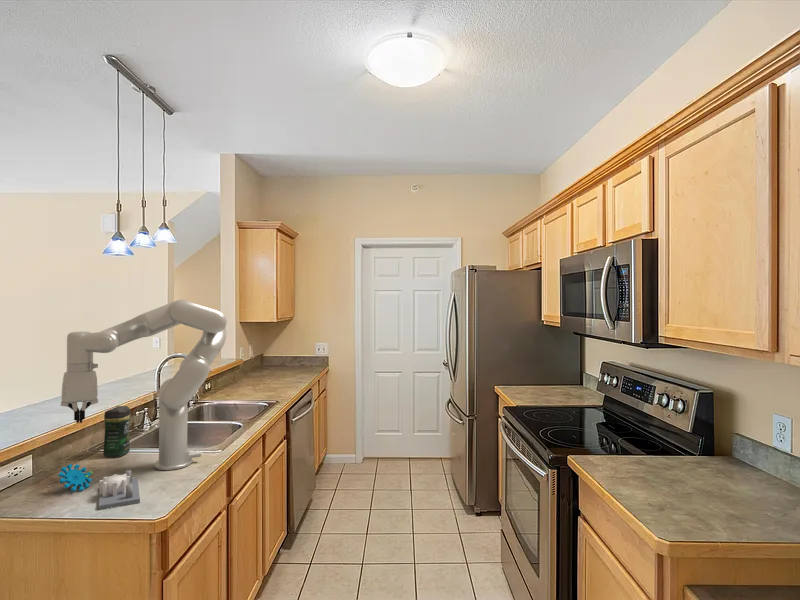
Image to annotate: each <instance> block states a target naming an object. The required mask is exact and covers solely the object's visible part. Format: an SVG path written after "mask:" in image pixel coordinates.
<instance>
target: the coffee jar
mask: <svg viewBox="0 0 800 600" xmlns="http://www.w3.org/2000/svg"><path fill="white" fill-rule="evenodd" d="M103 419H104V420H103V421H104V439H103V440H104V442H103V457H106V458H110V459H115V458H116V457H123V456H125V455H126V454H128V453H129V452H130V451H131V450H130V449H131V448H130V446H131V445H130V444H131V441H130V421H131V408H130V407H128V406H127V405H117V406H115V407H113V408H110V409H107V410H105V412H104V416H103Z"/></svg>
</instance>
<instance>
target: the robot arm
mask: <svg viewBox="0 0 800 600" xmlns="http://www.w3.org/2000/svg"><path fill="white" fill-rule="evenodd" d="M227 322H228V321H227V318H226V315H225V314H224V313H223V312H221V311H219V310H217V309H213V308H211V307H207V306H204V305H201V304H198V303H195V302H192V301H190V300H187V299H176V300H175V301H174V300H173V301H172V302H169V303H165V304H164V305H162V306H159V307H157V308H154V309H151V310H149V311H146V312H143V313H140V314H139V315H137V316H134V317H133V318H131V319H128V320H126V321H124V322H121V323H118V324H116V325H113V326H111V327H108V328H106V329H104V330H101V331H97V332H91V331H72V332H69V333H68V334H67V337H66V372H64V373H63V378H62V384H61V385H62V386H61V402H60V406H61V407H67V408H70V409H71V410H72V411H73V412H74V413H73V420H74V421H76V422H75V423H76V424H78V423H81V424H82V423H83V420H85V419H86V410H87V409H88V408H89V407H90V406H92V405H95V404H98V403H99V399H98V378H97V377H98V376H97V372H96V370H94V369H96V368H99V364H98V363H95V362H94V353H97V354H98V353H99V354H109V353H112V352H113V351H115V350H116V349H117V348H118V347H121V346H123V345H126V344H129V343H130V342H133V341H135V340H139V339H142V338H143V339H144V338H149V337H152V336H155V335H157V334H159V333H162V332H165V331H167V330H169V329H171V328H174V327H177V326H179V325H184V326H187V327H190V328H193V329H197V330H200V331H202V335H201V337H200V339H199V340H198V342H197V343H196V345H194V347H193V348H192V349H191V350H190V352H189V353H188V354H187V355H186V356H185V358H183V360H182V361H181V362H180V365H179V369H178V370H177V372H176V373H175V374H174V376H173V377H172V378H169V379H167V380H165V381H163V382H162V384H161V385H160V386H159V390H158V409H159V410H158V411H159V413H158V417H159V418H158V460H156V461H155V462H154V463H153V467H154V469H156V470H158V471H159V470H160V471H173V470H179V469H183V468H186V467H188V466H189V465H192V461H193V460H192V458H200V457H201V458H202V452H201V451H197V450H193V451H189V449H188V420H189V416H188V415H189V414H188V411H189V410H188V407H189V406H188V403H189V401H190V400H191V399H192V398H193V397H194V396H195V394H196V393H197V392H198V391H199V389H200V388H201V386H202V385H204V383H205V381H206V380H207V378H208V376H209V375H210V365H211V364H212V363H213V362H214V360H215V359H216V357H217V356H218V355H219V353H220V352H221V350H222V349H223V347H224V344H225V342H226V338H227V329H226V328H227V327H226V326H227ZM81 402H82V405H81V408H80V409H79V407H78V403H81Z"/></svg>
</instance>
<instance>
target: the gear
mask: <svg viewBox="0 0 800 600" xmlns="http://www.w3.org/2000/svg"><path fill="white" fill-rule="evenodd" d="M80 466H81V465H79V464H77V463H76V464H75V465H74V467H73V464H71V463H70V464H67V466H62V467H61V469H60V472H59V473H58V475H57V476H58V477H59V483H60V484H63V483H65V484H64V485H63V488H64V489H66V490H67V489H69V488H70V486H72V487H71V488H70V491H72V492H75V491H77V490H78V492H83V491H84V490H85V489H88V488H89V487H90V483H91V482H92V481H93V479H92V478H91V477H90V476H91V475H93V473H94V471H93V470H89V472H86V471H87V468H86V467H85V466H84V467H83V466H82V468H81V469H79V468H80ZM72 467H73V468H72ZM67 469H68V470H67ZM77 487H79V488H78V489H77Z"/></svg>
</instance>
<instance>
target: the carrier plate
mask: <svg viewBox="0 0 800 600" xmlns="http://www.w3.org/2000/svg"><path fill="white" fill-rule="evenodd" d="M98 483H99V488H98V490H99V491H98V492H99V499H98V511H101V509H102V510H107V508H108V509H112V508H111V507H113V508H117V506H119V507H124V506H123V505H125V506H130V505H135V503H136V504H140V503H141V496H140V489H139V480H138V477H132V469H127V470H125V471H124V474H113V475H111V476H104V477H102V479H99V482H98ZM129 504H130V505H129Z"/></svg>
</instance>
